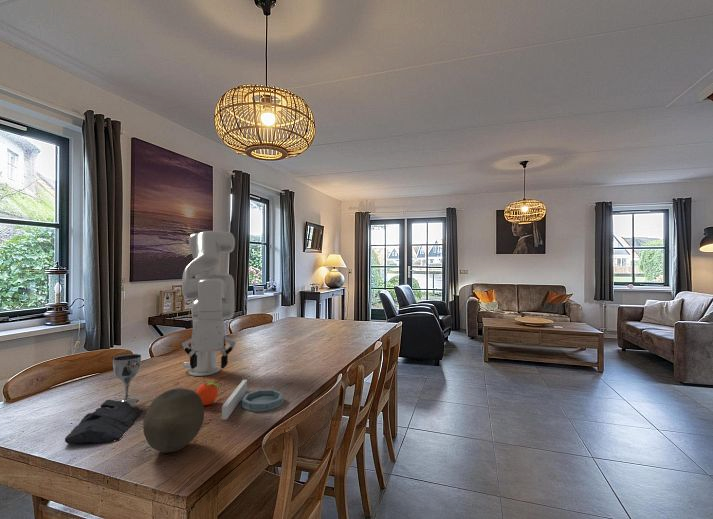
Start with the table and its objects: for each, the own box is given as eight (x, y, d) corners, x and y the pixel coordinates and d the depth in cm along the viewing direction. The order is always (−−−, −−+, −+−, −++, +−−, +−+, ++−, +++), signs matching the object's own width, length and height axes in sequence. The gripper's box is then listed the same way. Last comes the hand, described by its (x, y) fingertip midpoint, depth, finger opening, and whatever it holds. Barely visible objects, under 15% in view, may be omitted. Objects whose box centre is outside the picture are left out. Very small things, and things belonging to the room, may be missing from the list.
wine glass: (145, 398, 120) (146, 355, 120) (123, 407, 113) (124, 361, 113) (129, 395, 123) (129, 353, 123) (106, 404, 115) (107, 358, 115)
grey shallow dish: (236, 412, 110) (236, 404, 110) (247, 395, 124) (247, 389, 124) (280, 411, 111) (280, 404, 111) (286, 395, 125) (286, 388, 125)
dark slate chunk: (50, 452, 87) (51, 432, 87) (90, 415, 108) (90, 399, 108) (121, 443, 91) (121, 425, 92) (146, 409, 113) (146, 395, 113)
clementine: (221, 398, 121) (221, 378, 121) (220, 406, 114) (220, 385, 114) (196, 401, 118) (196, 380, 119) (193, 409, 112) (194, 387, 112)
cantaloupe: (127, 459, 84) (128, 396, 84) (176, 432, 97) (177, 378, 97) (171, 472, 78) (172, 405, 79) (217, 442, 92) (218, 385, 92)
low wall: (221, 419, 105) (221, 406, 105) (242, 390, 129) (243, 379, 129) (226, 419, 105) (227, 406, 105) (246, 390, 129) (247, 379, 129)
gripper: (178, 317, 112) (177, 371, 112) (232, 317, 113) (232, 370, 113) (187, 314, 120) (186, 365, 119) (239, 314, 121) (238, 364, 120)
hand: (208, 367), depth 116 cm, fingers open, 9 cm apart
